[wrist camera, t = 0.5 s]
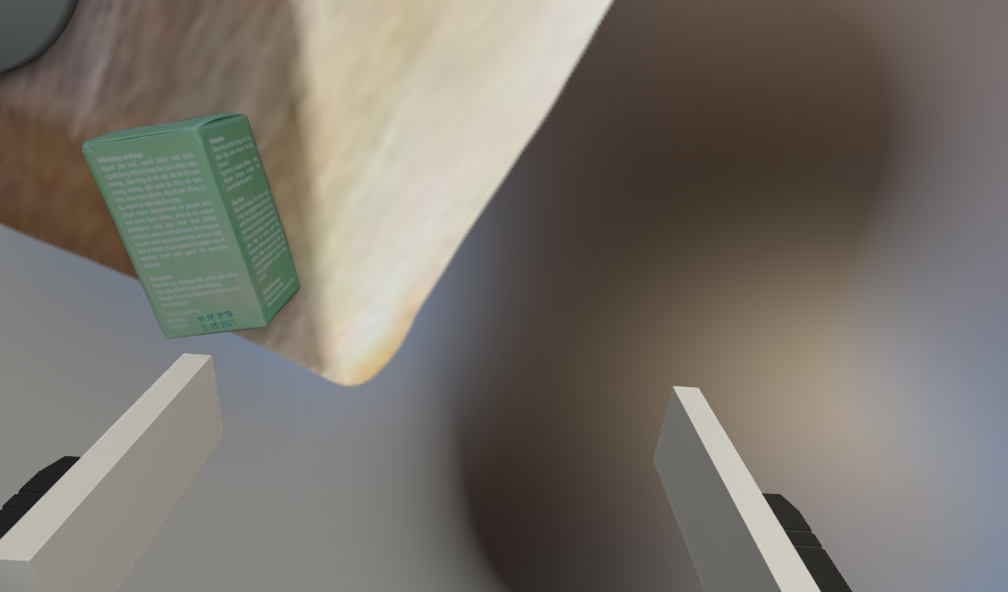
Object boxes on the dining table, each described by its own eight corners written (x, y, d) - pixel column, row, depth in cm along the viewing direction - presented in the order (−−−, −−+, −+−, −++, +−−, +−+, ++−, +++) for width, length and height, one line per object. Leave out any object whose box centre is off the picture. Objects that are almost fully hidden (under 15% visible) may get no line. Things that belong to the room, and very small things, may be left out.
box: (247, 107, 38) (192, 121, 31) (304, 285, 43) (269, 329, 37) (144, 123, 38) (69, 141, 31) (215, 297, 44) (164, 344, 37)
